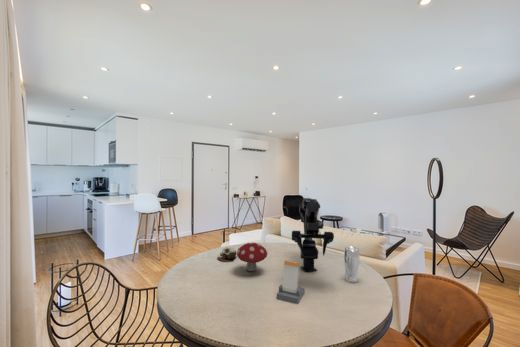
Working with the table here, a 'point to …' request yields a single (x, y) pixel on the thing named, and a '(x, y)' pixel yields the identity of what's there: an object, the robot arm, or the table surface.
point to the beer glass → (351, 264)
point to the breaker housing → (291, 295)
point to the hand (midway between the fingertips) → (313, 254)
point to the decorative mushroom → (251, 254)
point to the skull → (227, 254)
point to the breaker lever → (290, 277)
